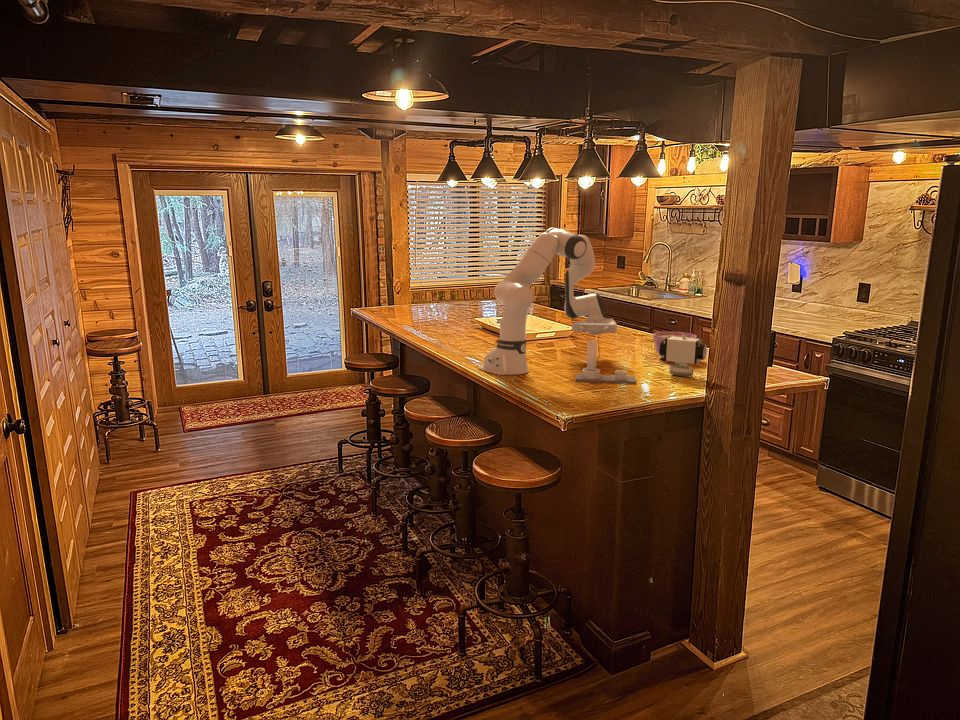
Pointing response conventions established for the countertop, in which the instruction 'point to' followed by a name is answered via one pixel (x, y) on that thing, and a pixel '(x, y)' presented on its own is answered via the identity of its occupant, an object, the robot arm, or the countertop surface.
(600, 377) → the plate
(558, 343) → the countertop surface
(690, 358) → the ball valve
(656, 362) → the countertop surface
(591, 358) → the pvc pipe
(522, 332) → the robot arm
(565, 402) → the countertop surface
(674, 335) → the clear bowl
